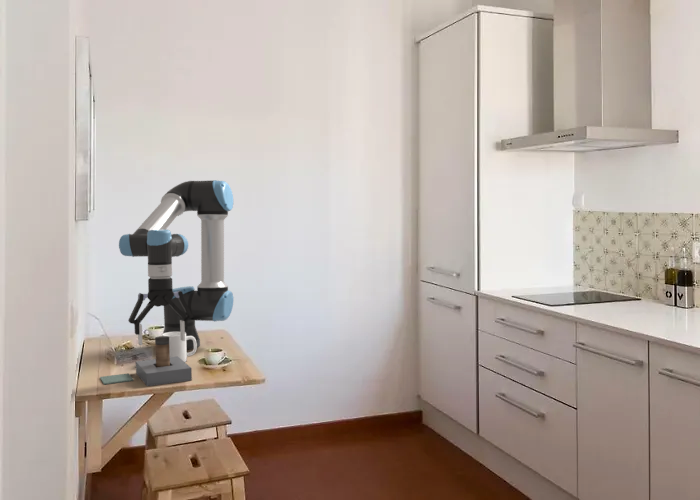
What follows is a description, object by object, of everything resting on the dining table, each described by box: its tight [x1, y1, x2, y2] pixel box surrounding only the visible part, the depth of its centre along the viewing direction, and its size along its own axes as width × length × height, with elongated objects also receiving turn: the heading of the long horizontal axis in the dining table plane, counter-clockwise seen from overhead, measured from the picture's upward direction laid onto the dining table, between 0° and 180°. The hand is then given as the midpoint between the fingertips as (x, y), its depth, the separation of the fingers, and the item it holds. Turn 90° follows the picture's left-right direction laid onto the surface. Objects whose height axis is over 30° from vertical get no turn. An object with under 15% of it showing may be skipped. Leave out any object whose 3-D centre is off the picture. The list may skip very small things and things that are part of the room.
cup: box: [161, 332, 198, 363], centre depth 244 cm, size 8×12×10 cm
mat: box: [99, 372, 135, 386], centre depth 220 cm, size 9×9×1 cm
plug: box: [154, 335, 170, 367], centre depth 223 cm, size 4×4×13 cm
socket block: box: [135, 356, 193, 387], centre depth 223 cm, size 18×14×4 cm
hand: (161, 342), depth 222 cm, fingers open, 13 cm apart
